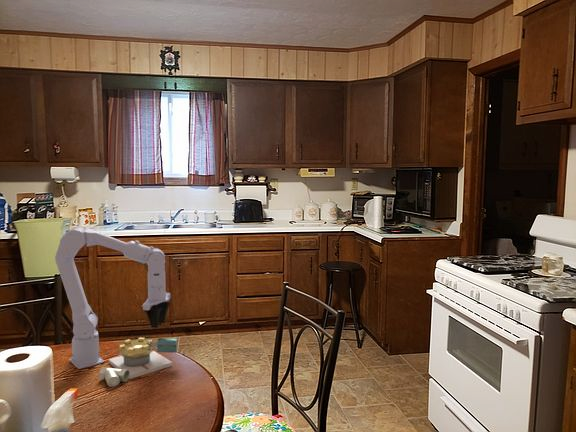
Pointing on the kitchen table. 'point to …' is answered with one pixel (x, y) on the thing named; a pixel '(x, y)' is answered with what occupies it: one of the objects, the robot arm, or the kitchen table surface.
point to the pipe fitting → (114, 375)
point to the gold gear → (147, 347)
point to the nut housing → (141, 364)
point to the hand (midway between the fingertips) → (157, 325)
